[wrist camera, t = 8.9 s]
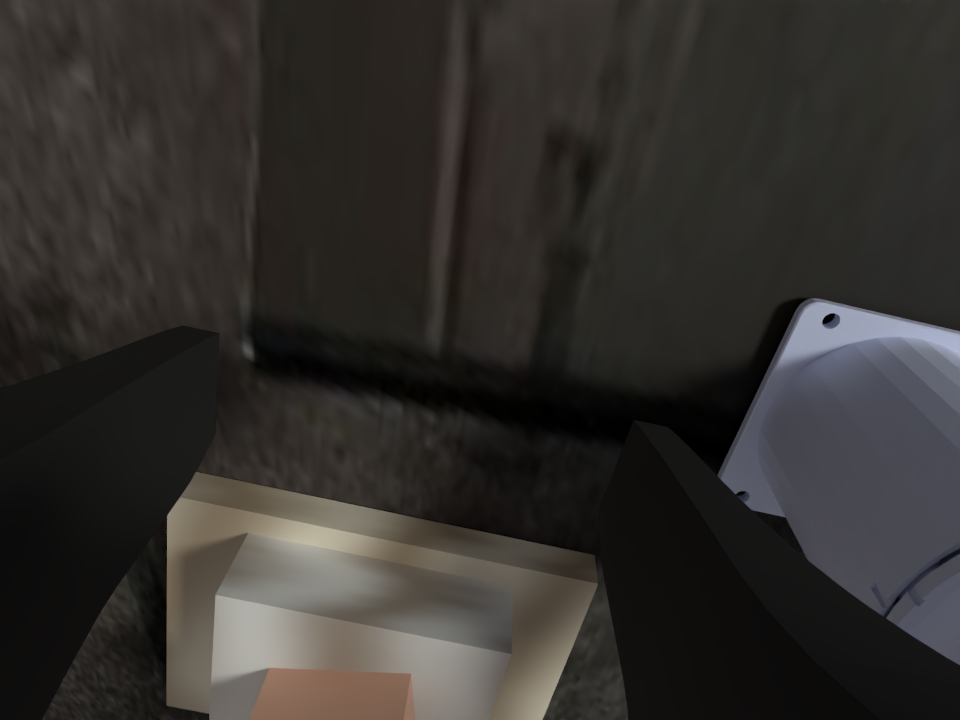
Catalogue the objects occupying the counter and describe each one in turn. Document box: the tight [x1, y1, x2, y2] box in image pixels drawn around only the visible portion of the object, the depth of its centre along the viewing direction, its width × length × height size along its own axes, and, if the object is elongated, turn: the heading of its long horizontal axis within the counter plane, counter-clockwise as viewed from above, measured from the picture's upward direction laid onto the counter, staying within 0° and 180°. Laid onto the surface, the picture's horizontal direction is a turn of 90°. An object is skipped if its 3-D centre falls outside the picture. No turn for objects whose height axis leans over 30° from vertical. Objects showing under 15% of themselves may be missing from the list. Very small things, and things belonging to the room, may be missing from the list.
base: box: [167, 472, 598, 720], centre depth 27 cm, size 16×12×4 cm
